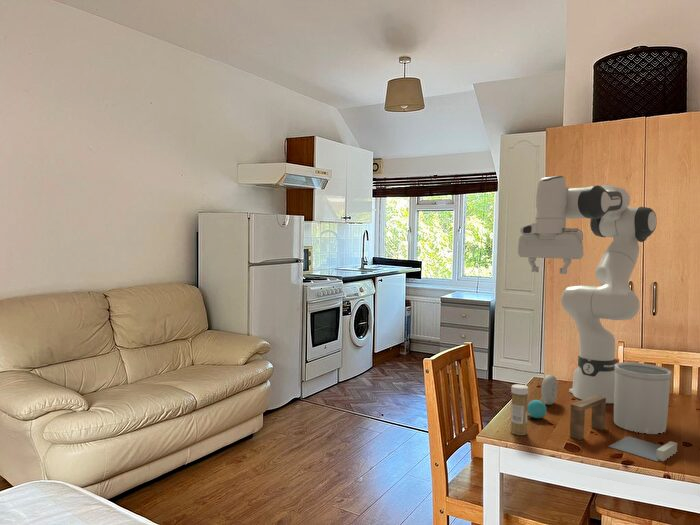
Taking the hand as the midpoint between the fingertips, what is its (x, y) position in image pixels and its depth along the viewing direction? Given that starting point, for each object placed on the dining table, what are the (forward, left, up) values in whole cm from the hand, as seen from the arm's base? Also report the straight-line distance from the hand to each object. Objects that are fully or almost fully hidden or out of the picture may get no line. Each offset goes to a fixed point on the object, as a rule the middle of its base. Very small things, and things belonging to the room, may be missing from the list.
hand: (548, 273), depth 165 cm
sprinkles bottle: (+21, +4, -45) cm, 49 cm away
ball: (+5, 0, -42) cm, 42 cm away
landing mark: (+5, +31, -44) cm, 54 cm away
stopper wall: (+5, +37, -44) cm, 58 cm away
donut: (-11, -5, -45) cm, 46 cm away
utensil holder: (-13, +23, -45) cm, 52 cm away
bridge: (+5, +16, -44) cm, 48 cm away
